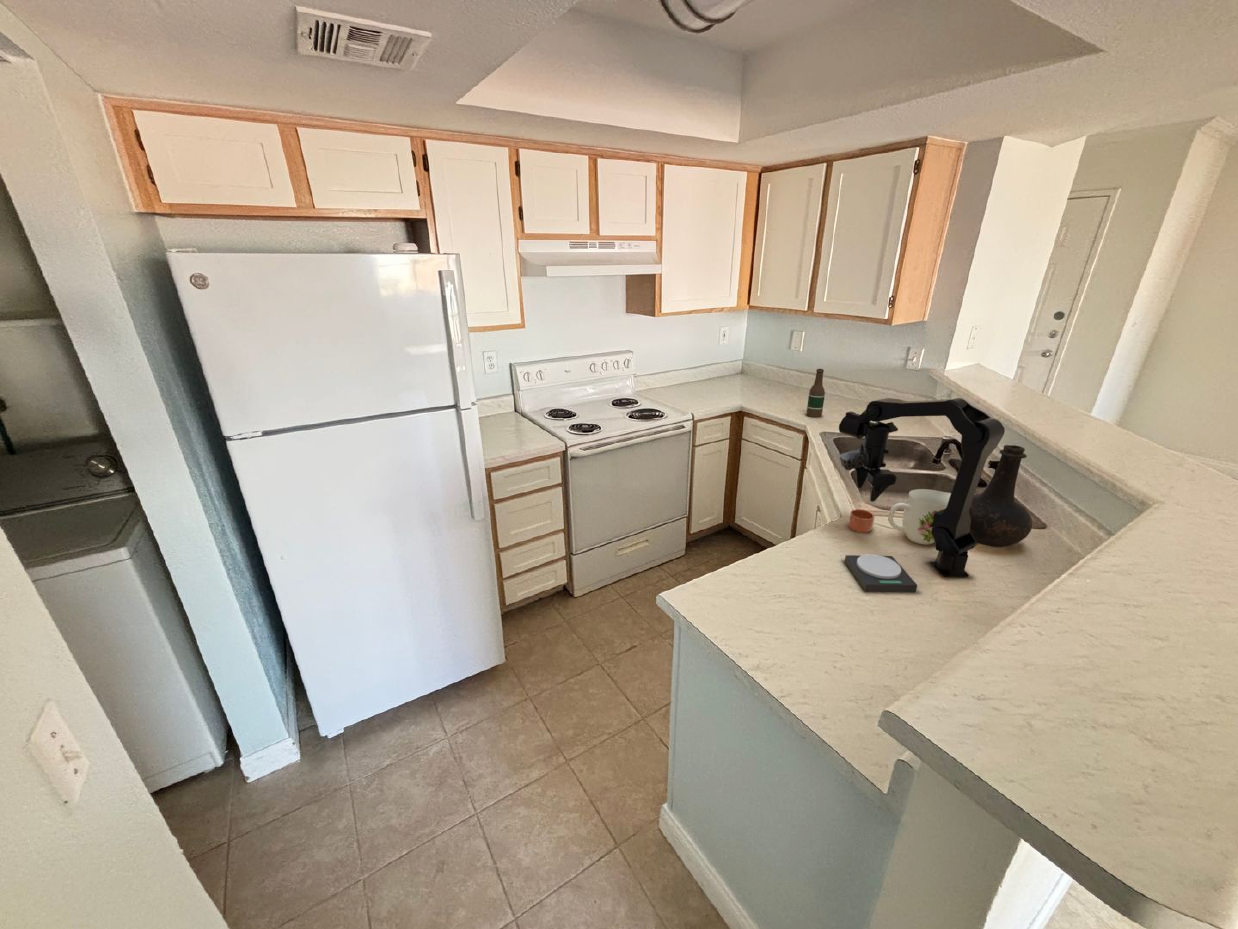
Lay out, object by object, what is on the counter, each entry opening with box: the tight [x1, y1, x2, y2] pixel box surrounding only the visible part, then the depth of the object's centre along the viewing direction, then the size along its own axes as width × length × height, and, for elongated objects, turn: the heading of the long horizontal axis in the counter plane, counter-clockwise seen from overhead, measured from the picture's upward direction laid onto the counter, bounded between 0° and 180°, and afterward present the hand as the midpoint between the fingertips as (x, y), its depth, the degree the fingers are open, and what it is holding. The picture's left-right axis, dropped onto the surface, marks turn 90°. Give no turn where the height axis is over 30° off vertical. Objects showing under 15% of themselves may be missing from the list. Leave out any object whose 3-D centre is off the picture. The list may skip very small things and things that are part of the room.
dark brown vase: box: [969, 444, 1033, 548], centre depth 137 cm, size 18×18×28 cm
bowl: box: [847, 508, 875, 534], centre depth 148 cm, size 6×6×4 cm
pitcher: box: [887, 488, 951, 545], centre depth 140 cm, size 11×18×14 cm, turn 86°
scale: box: [844, 553, 918, 593], centre depth 126 cm, size 13×12×3 cm
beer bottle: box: [806, 368, 826, 419], centre depth 254 cm, size 8×8×24 cm
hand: (865, 494), depth 145 cm, fingers open, 9 cm apart
